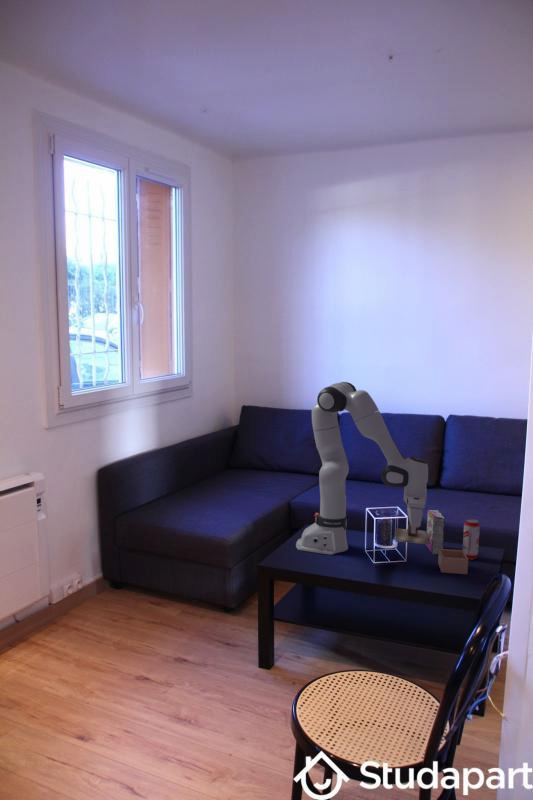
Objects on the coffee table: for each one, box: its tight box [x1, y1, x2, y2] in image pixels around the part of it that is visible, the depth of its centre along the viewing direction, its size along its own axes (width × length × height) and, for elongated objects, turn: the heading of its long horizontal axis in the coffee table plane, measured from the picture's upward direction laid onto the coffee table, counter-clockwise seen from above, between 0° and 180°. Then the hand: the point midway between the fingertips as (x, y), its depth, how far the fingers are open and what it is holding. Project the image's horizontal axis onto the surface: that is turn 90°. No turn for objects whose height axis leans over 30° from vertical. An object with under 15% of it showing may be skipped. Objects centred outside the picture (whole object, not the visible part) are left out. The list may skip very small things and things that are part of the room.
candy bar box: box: [425, 509, 446, 556], centre depth 271 cm, size 11×5×16 cm, turn 179°
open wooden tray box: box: [437, 548, 469, 575], centre depth 252 cm, size 10×10×6 cm
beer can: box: [461, 518, 481, 561], centre depth 263 cm, size 6×6×16 cm
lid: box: [394, 523, 431, 545], centre depth 253 cm, size 13×13×5 cm
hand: (412, 530), depth 253 cm, fingers closed on lid, 3 cm apart
